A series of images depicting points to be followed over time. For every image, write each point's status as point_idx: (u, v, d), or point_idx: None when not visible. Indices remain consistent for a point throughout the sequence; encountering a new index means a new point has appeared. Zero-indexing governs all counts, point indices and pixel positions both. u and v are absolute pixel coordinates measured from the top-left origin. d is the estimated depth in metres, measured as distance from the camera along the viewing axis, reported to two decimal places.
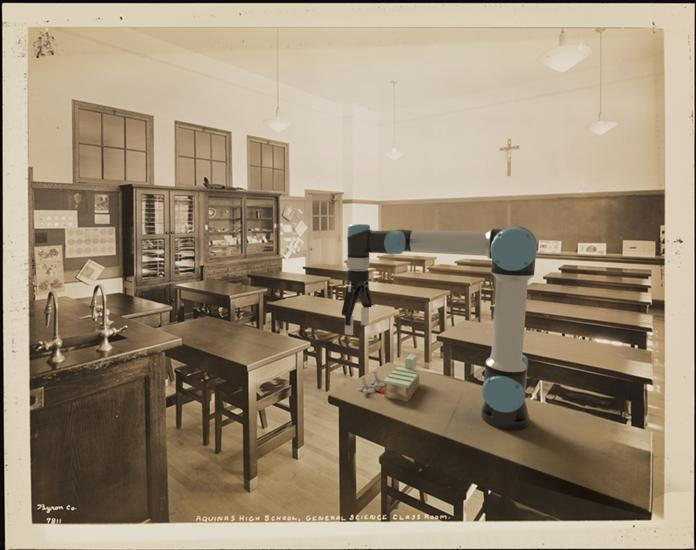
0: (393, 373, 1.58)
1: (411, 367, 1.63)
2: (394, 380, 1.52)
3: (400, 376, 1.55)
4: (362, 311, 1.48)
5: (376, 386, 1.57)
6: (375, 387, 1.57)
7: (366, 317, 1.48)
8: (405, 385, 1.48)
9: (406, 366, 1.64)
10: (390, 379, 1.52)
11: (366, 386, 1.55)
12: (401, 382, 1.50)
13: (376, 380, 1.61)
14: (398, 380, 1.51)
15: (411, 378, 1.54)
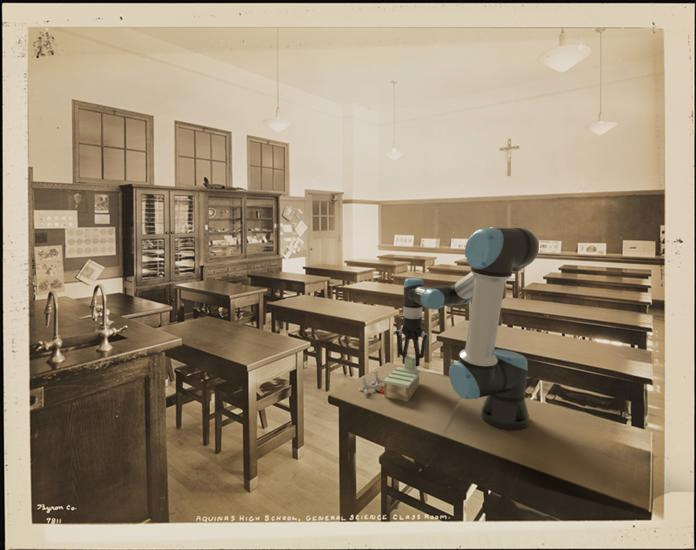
0: (393, 373, 1.58)
1: (411, 367, 1.63)
2: (394, 380, 1.52)
3: (400, 376, 1.55)
4: None
5: (377, 386, 1.57)
6: (376, 387, 1.57)
7: None
8: (405, 385, 1.48)
9: (406, 366, 1.64)
10: (390, 379, 1.52)
11: (367, 386, 1.55)
12: (401, 382, 1.50)
13: (377, 380, 1.61)
14: (398, 380, 1.51)
15: (411, 378, 1.54)
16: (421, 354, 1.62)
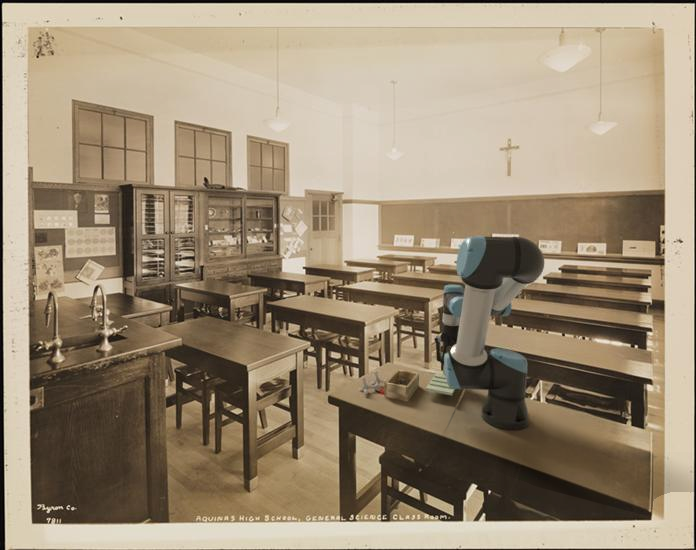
0: (434, 380, 1.58)
1: None
2: (436, 387, 1.52)
3: (441, 383, 1.55)
4: None
5: (377, 386, 1.57)
6: (376, 387, 1.57)
7: None
8: (448, 393, 1.48)
9: None
10: (432, 386, 1.52)
11: (366, 386, 1.55)
12: (444, 390, 1.50)
13: (377, 380, 1.61)
14: (441, 388, 1.51)
15: None
16: None
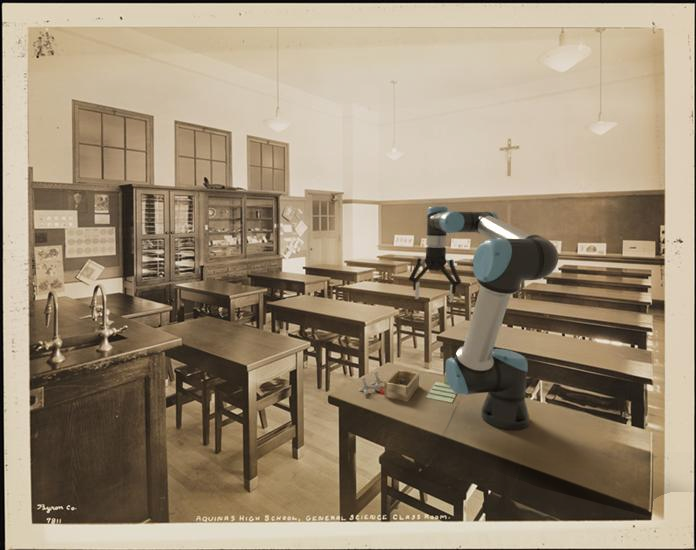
0: (434, 389, 1.58)
1: None
2: (436, 397, 1.52)
3: (441, 392, 1.56)
4: None
5: (377, 386, 1.57)
6: (376, 387, 1.57)
7: (450, 294, 1.58)
8: None
9: (445, 381, 1.64)
10: (432, 396, 1.53)
11: (366, 386, 1.55)
12: (444, 399, 1.50)
13: (377, 380, 1.61)
14: (440, 397, 1.52)
15: (453, 394, 1.54)
16: (457, 280, 1.56)
